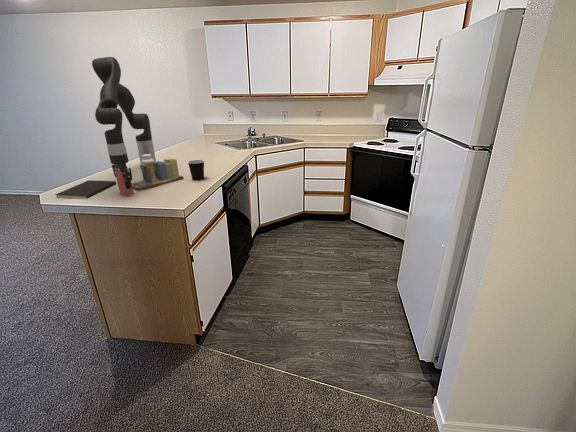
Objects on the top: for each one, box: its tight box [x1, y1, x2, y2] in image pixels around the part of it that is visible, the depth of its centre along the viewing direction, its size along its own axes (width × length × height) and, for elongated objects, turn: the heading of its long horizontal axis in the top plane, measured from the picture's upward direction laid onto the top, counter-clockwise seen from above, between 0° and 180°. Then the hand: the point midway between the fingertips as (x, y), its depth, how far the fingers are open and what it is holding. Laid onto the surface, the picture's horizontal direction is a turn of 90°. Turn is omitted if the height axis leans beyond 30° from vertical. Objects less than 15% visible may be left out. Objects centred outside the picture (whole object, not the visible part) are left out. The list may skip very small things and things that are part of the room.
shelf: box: [132, 157, 184, 192], centre depth 166 cm, size 12×26×11 cm, turn 143°
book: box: [114, 170, 135, 197], centre depth 150 cm, size 6×4×12 cm, turn 53°
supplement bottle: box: [142, 154, 155, 178], centre depth 177 cm, size 7×7×13 cm
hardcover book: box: [54, 179, 117, 199], centre depth 157 cm, size 16×23×2 cm
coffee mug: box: [187, 159, 205, 182], centre depth 174 cm, size 12×9×10 cm
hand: (125, 187), depth 150 cm, fingers closed on book, 6 cm apart
